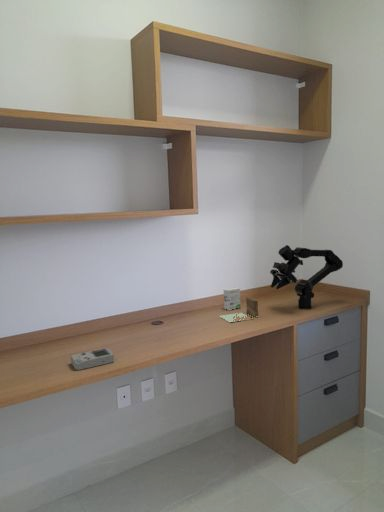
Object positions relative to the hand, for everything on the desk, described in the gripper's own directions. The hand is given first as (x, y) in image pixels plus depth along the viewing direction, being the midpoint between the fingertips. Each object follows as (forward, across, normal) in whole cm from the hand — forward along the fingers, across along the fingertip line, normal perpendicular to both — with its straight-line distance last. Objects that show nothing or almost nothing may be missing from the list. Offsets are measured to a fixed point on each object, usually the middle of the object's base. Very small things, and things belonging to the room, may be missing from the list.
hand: (273, 288), depth 208 cm
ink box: (+22, -18, -2) cm, 28 cm away
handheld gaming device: (+80, +29, -61) cm, 105 cm away
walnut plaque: (+19, 0, 0) cm, 19 cm away
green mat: (+26, 0, -7) cm, 27 cm away
